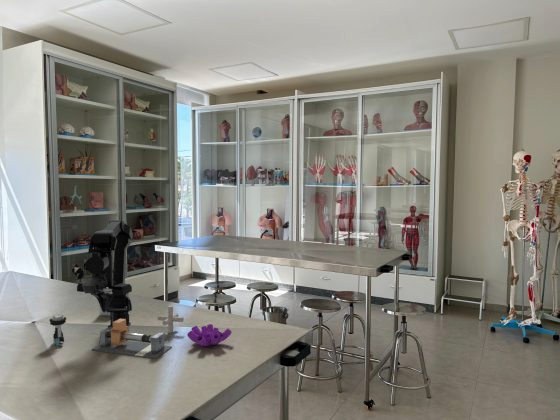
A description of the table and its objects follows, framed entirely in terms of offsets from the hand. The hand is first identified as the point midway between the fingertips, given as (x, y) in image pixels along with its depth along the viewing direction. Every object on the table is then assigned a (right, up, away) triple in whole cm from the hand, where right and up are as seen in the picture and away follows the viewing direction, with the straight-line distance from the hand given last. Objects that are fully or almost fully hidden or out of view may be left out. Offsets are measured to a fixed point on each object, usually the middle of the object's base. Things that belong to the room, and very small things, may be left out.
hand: (104, 311), depth 149 cm
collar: (+6, -11, -1) cm, 12 cm away
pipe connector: (+19, -12, +15) cm, 27 cm away
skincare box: (-13, -10, +39) cm, 43 cm away
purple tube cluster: (+36, -13, +2) cm, 38 cm away
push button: (-17, -12, +1) cm, 21 cm away
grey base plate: (+11, -12, -2) cm, 16 cm away
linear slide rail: (+11, -12, -2) cm, 16 cm away
